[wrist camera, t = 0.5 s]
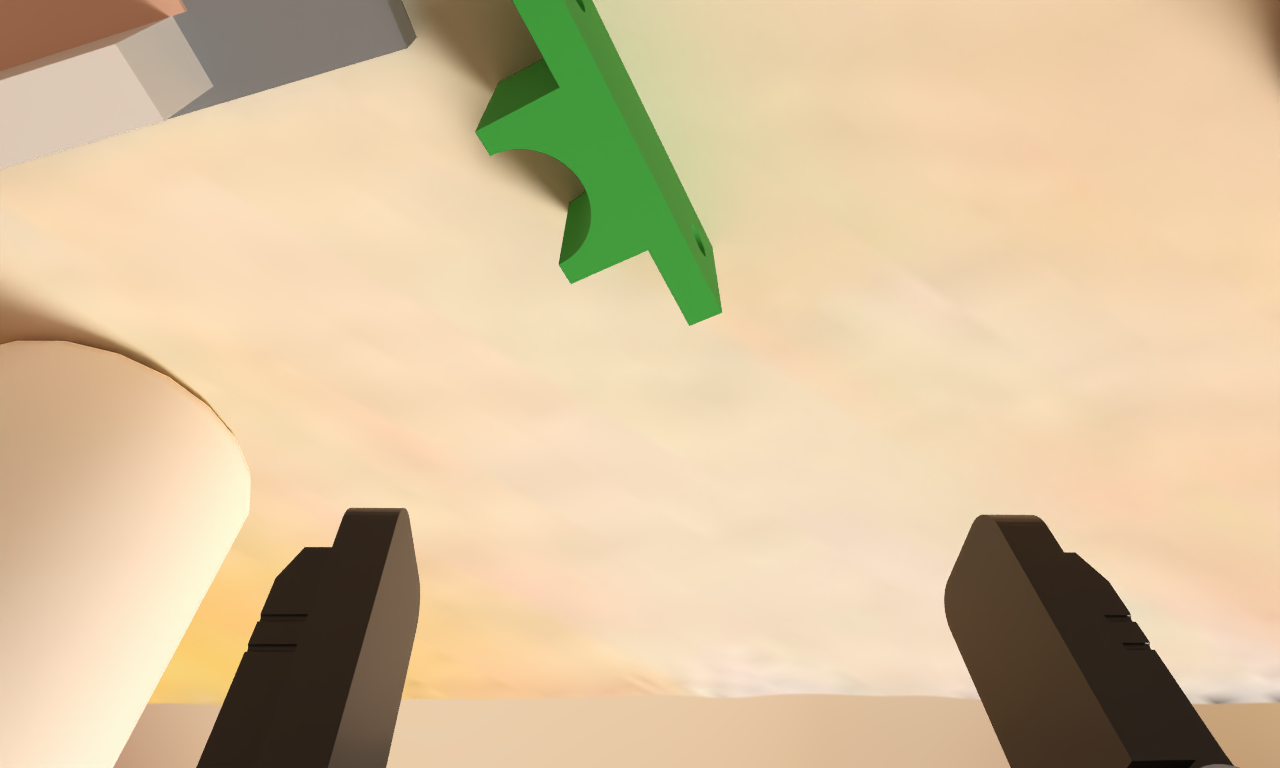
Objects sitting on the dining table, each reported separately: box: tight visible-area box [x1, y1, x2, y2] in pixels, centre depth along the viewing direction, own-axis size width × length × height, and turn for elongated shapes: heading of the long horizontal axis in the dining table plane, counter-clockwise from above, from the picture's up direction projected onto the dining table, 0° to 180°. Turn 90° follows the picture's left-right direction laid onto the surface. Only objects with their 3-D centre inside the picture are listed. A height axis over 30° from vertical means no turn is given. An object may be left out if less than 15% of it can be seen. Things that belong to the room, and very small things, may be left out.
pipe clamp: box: [475, 0, 722, 326], centre depth 24 cm, size 11×4×5 cm, turn 26°
